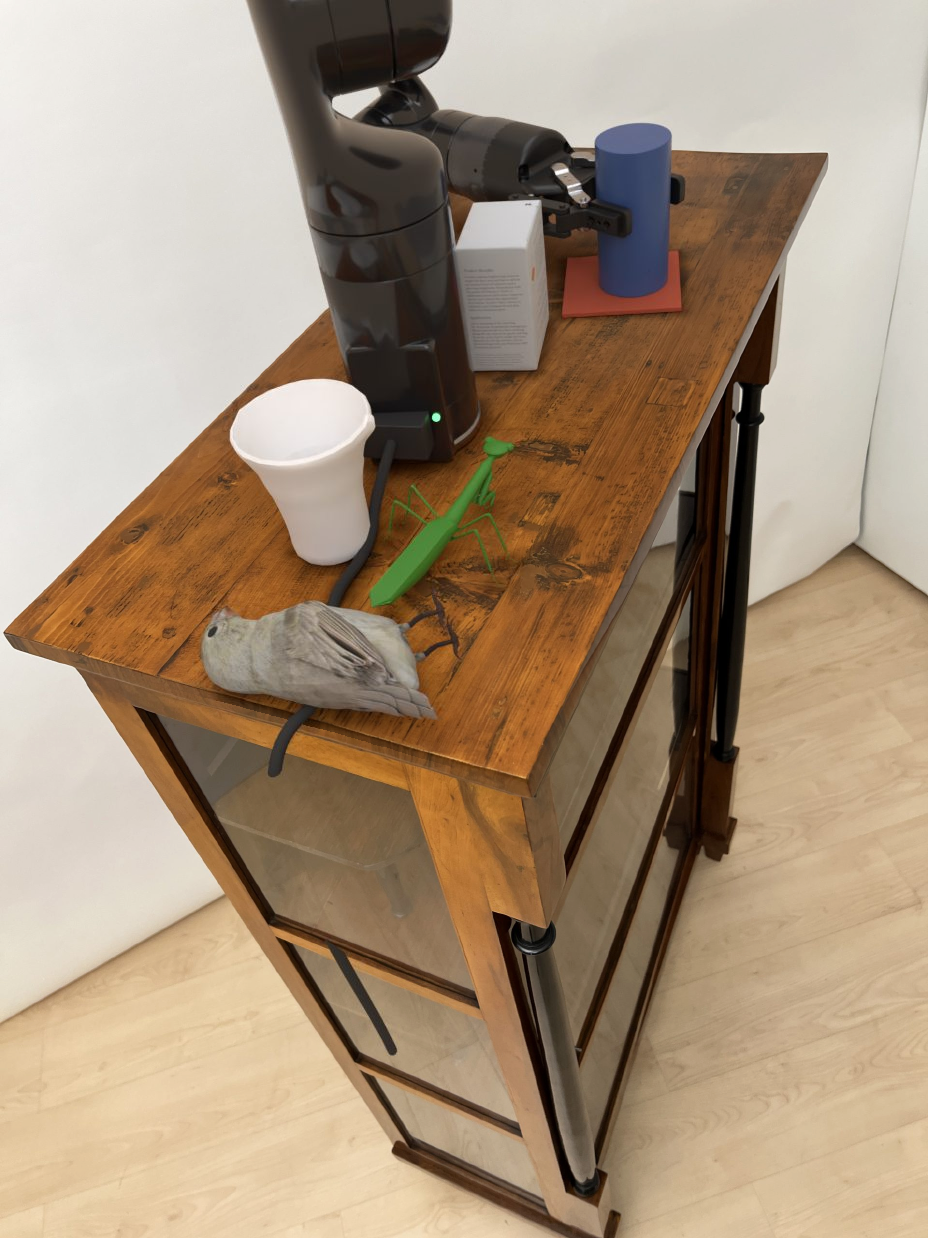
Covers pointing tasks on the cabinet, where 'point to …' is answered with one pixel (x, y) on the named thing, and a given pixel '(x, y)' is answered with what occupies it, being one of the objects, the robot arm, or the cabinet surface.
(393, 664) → the decorative bird
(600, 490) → the cabinet surface
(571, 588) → the cabinet surface
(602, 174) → the blue can
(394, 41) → the robot arm
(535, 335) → the small box
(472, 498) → the praying mantis
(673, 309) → the terracotta mat
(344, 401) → the cup
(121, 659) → the cabinet surface
